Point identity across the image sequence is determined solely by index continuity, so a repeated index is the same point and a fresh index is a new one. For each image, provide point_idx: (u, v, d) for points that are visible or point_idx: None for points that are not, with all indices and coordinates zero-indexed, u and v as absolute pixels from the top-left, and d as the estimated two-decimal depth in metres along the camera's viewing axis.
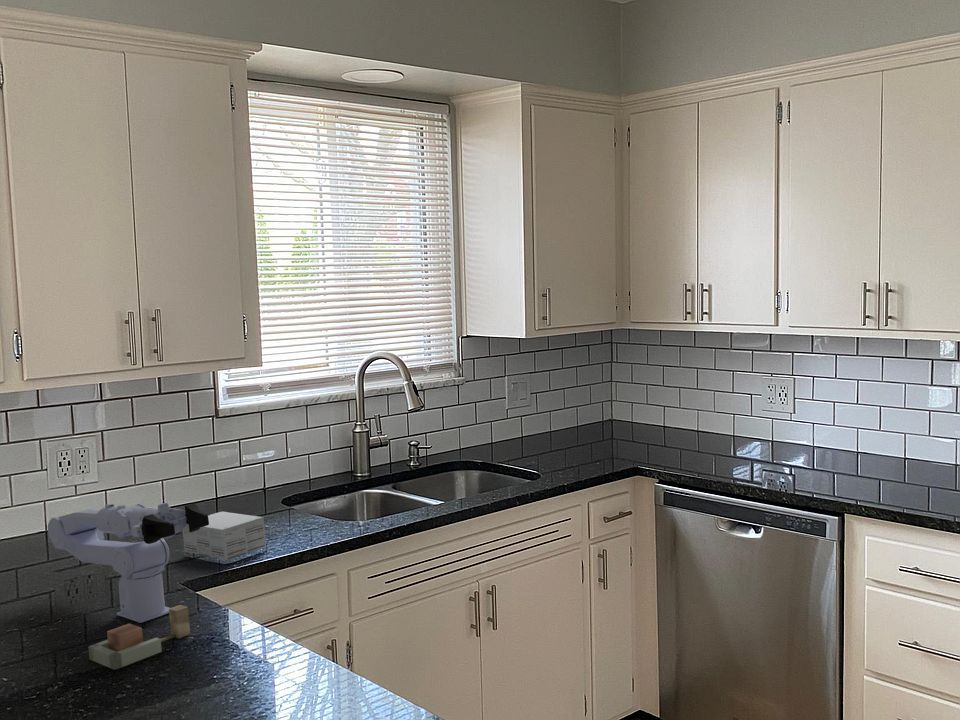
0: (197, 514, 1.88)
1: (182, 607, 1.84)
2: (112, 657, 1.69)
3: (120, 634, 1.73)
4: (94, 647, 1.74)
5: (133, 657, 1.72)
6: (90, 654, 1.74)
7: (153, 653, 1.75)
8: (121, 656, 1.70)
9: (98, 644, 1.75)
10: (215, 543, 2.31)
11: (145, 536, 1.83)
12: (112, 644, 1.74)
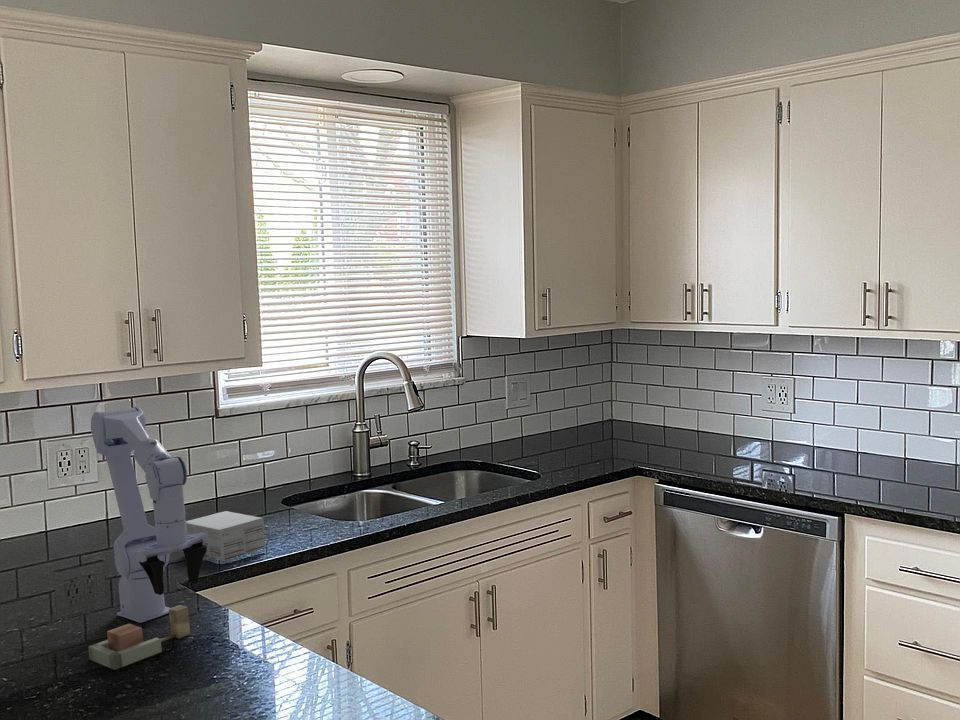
0: (194, 570, 1.85)
1: (182, 607, 1.84)
2: (112, 657, 1.69)
3: (120, 634, 1.73)
4: (94, 647, 1.74)
5: (133, 657, 1.72)
6: (90, 654, 1.74)
7: (153, 653, 1.75)
8: (121, 656, 1.70)
9: (98, 644, 1.75)
10: (213, 543, 2.31)
11: (142, 563, 1.79)
12: (112, 644, 1.74)
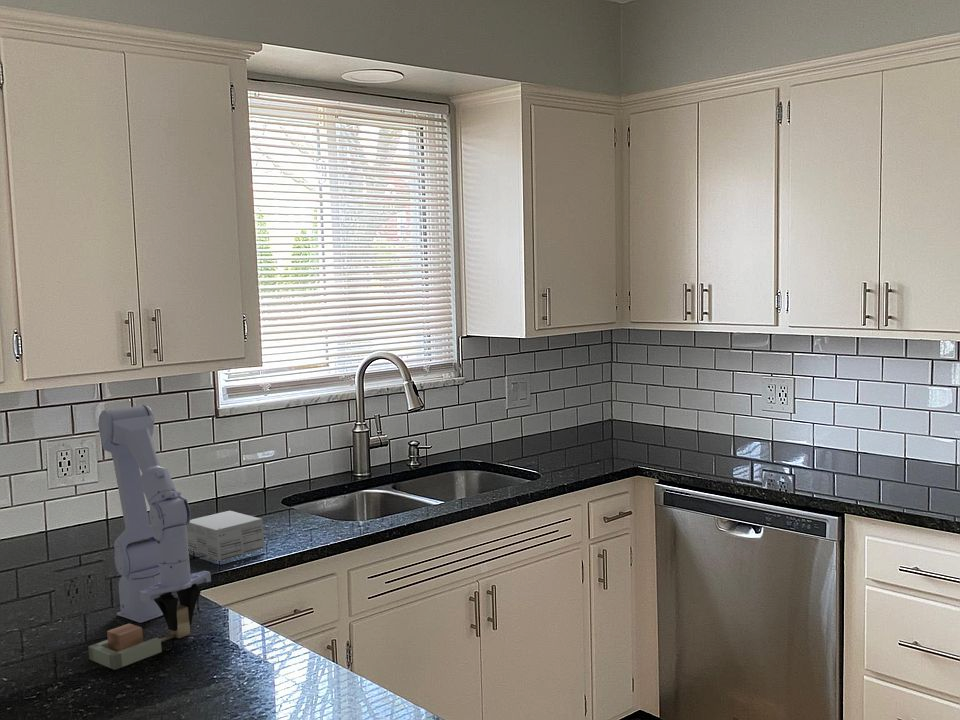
0: (188, 612, 1.84)
1: (182, 606, 1.84)
2: (112, 657, 1.69)
3: (120, 634, 1.73)
4: (94, 647, 1.74)
5: (133, 657, 1.72)
6: (90, 654, 1.74)
7: (153, 653, 1.75)
8: (121, 656, 1.70)
9: (98, 644, 1.75)
10: (210, 543, 2.32)
11: (156, 599, 1.82)
12: (112, 644, 1.74)
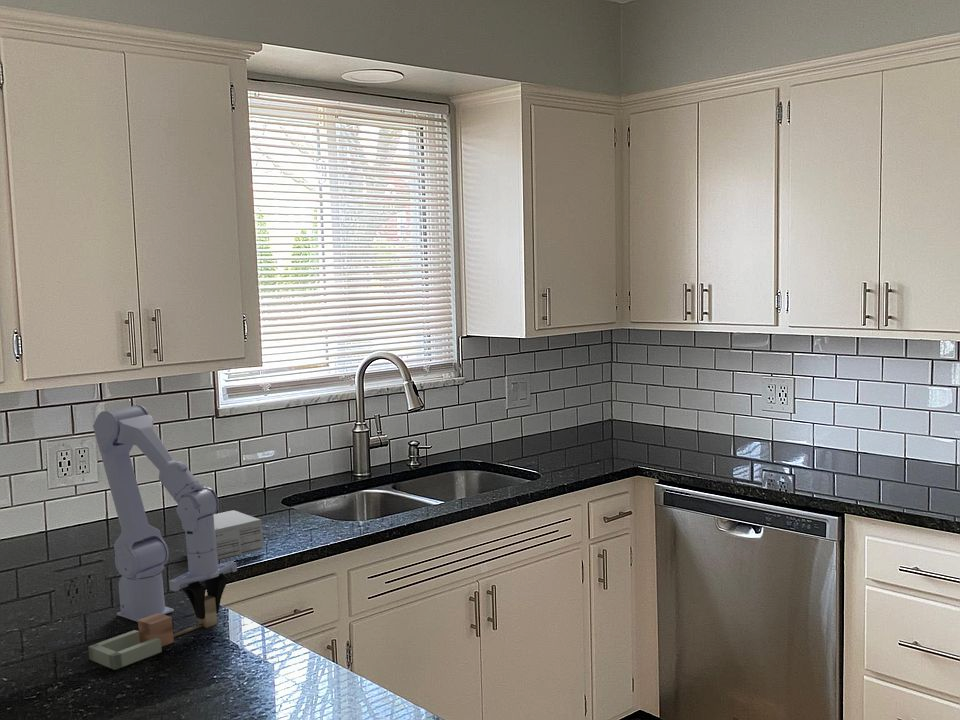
0: None
1: (209, 597, 1.89)
2: (112, 657, 1.69)
3: (151, 623, 1.78)
4: (94, 647, 1.74)
5: (133, 657, 1.72)
6: (90, 654, 1.74)
7: (153, 653, 1.75)
8: (121, 656, 1.70)
9: (98, 644, 1.75)
10: None
11: (185, 588, 1.86)
12: (142, 632, 1.79)
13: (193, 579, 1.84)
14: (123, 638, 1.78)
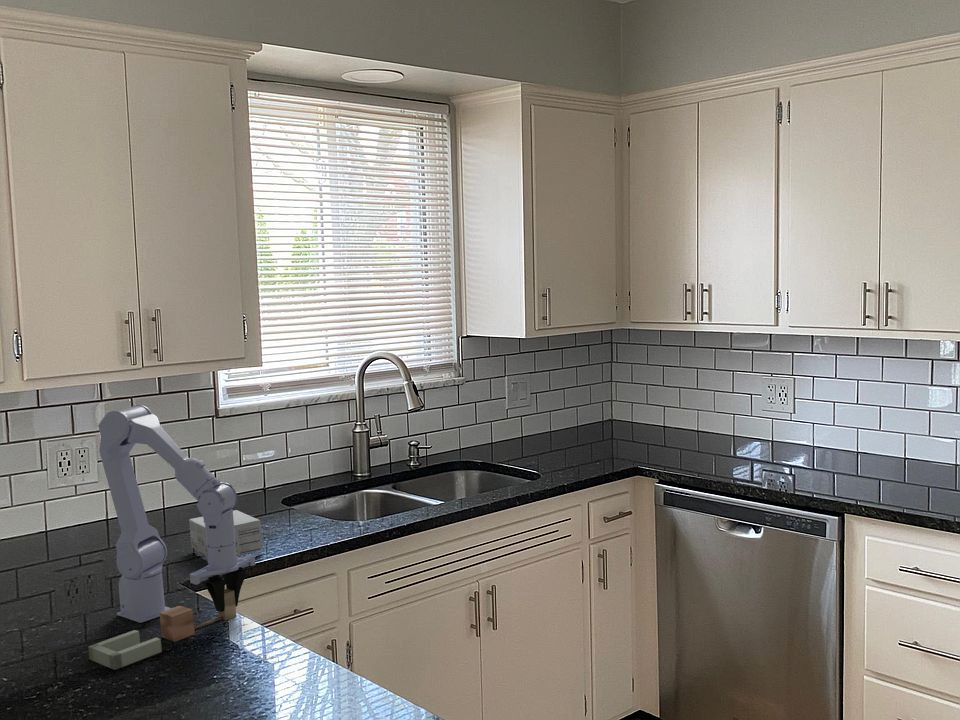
0: None
1: (229, 590, 1.93)
2: (112, 657, 1.69)
3: (172, 615, 1.81)
4: (94, 647, 1.74)
5: (133, 657, 1.72)
6: (90, 654, 1.74)
7: (153, 653, 1.75)
8: (121, 656, 1.70)
9: (98, 644, 1.75)
10: None
11: (205, 582, 1.90)
12: (164, 625, 1.83)
13: (213, 572, 1.88)
14: (123, 638, 1.78)
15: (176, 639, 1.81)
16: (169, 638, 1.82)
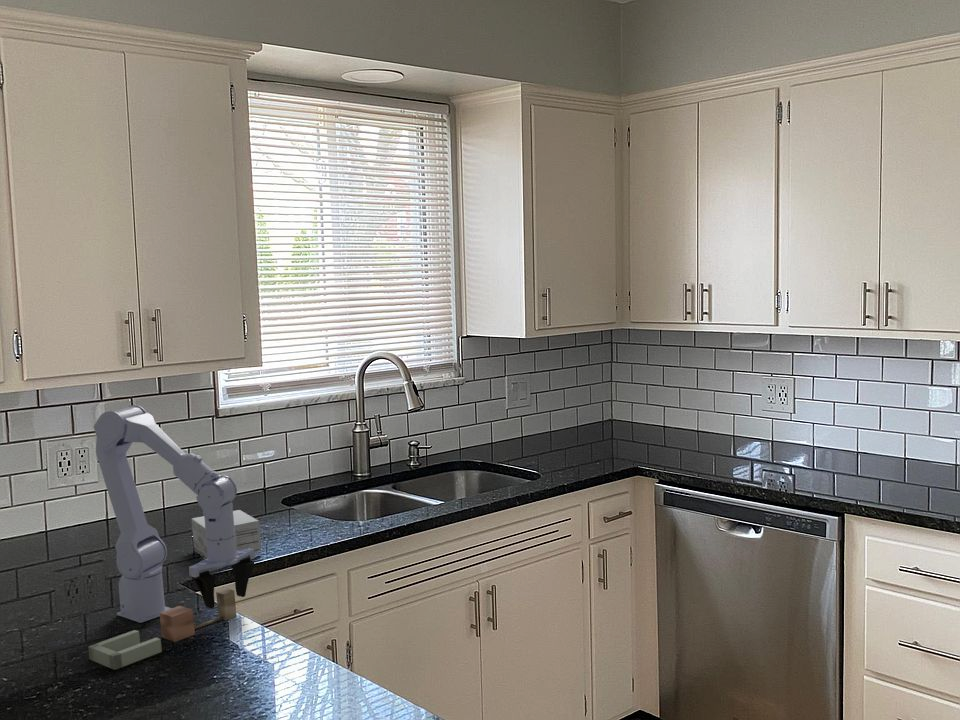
0: (242, 584, 1.94)
1: (229, 590, 1.93)
2: (112, 657, 1.69)
3: (173, 615, 1.81)
4: (94, 647, 1.74)
5: (133, 657, 1.72)
6: (90, 654, 1.74)
7: (153, 653, 1.75)
8: (121, 656, 1.70)
9: (98, 644, 1.75)
10: (205, 542, 2.32)
11: (194, 578, 1.88)
12: (164, 625, 1.83)
13: (212, 565, 1.88)
14: (123, 638, 1.78)
15: (176, 639, 1.81)
16: (169, 638, 1.82)
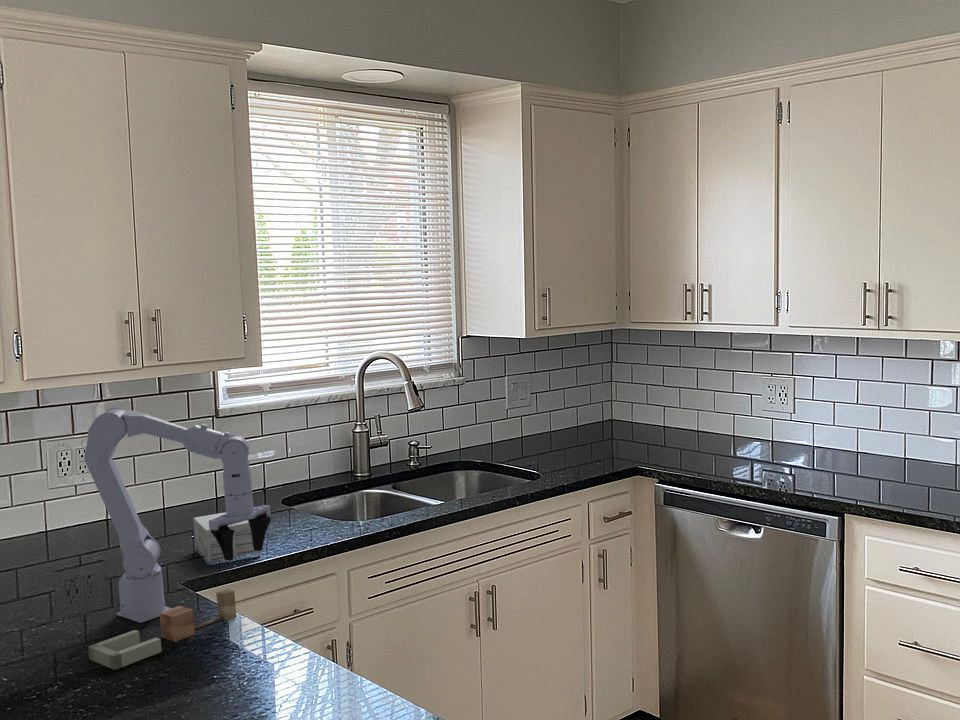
0: (259, 539, 2.02)
1: (229, 590, 1.93)
2: (112, 657, 1.69)
3: (173, 615, 1.81)
4: (94, 647, 1.74)
5: (133, 657, 1.72)
6: (90, 654, 1.74)
7: (153, 653, 1.75)
8: (121, 656, 1.70)
9: (98, 644, 1.75)
10: (204, 542, 2.32)
11: (214, 531, 1.96)
12: (164, 625, 1.83)
13: (231, 519, 1.96)
14: (123, 638, 1.78)
15: (176, 639, 1.81)
16: (169, 638, 1.82)
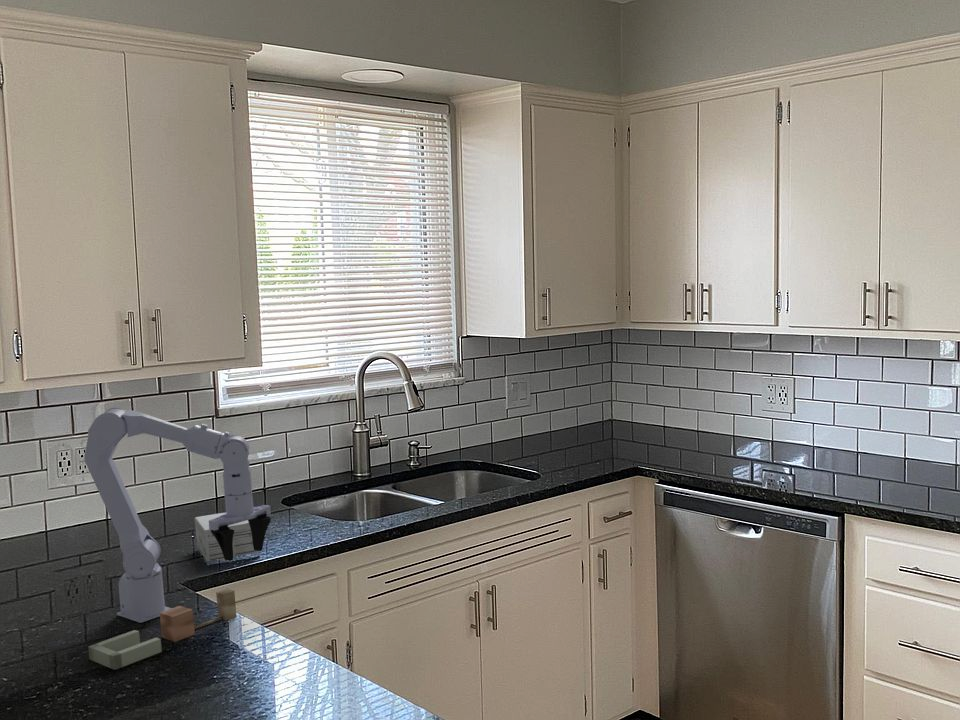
0: (259, 539, 2.02)
1: (229, 590, 1.93)
2: (112, 657, 1.69)
3: (173, 615, 1.81)
4: (94, 647, 1.74)
5: (133, 657, 1.72)
6: (90, 654, 1.74)
7: (153, 653, 1.75)
8: (121, 656, 1.70)
9: (98, 644, 1.75)
10: (203, 542, 2.33)
11: (214, 531, 1.96)
12: (164, 625, 1.83)
13: (231, 519, 1.96)
14: (123, 638, 1.78)
15: (176, 639, 1.81)
16: (169, 638, 1.82)
